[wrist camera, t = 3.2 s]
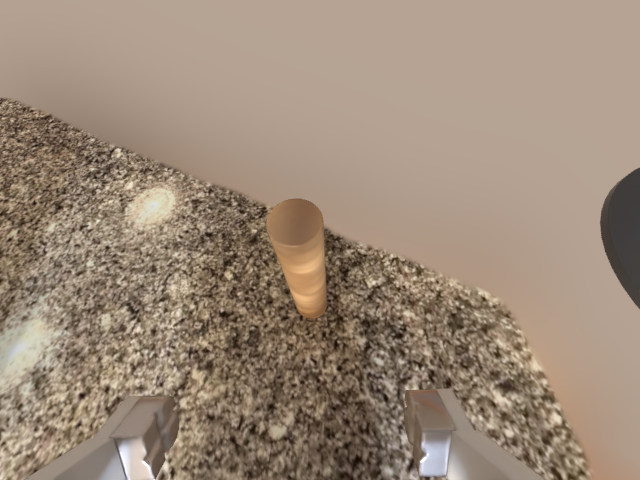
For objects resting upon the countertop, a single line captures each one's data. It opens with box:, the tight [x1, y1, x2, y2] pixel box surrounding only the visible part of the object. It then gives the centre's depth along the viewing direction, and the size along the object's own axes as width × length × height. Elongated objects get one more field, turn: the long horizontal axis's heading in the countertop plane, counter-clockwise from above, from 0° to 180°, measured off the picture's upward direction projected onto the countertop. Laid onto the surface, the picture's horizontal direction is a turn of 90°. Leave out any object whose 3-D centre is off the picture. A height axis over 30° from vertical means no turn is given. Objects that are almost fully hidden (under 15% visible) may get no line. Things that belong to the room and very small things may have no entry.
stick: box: [266, 199, 327, 319], centre depth 21 cm, size 3×3×14 cm
